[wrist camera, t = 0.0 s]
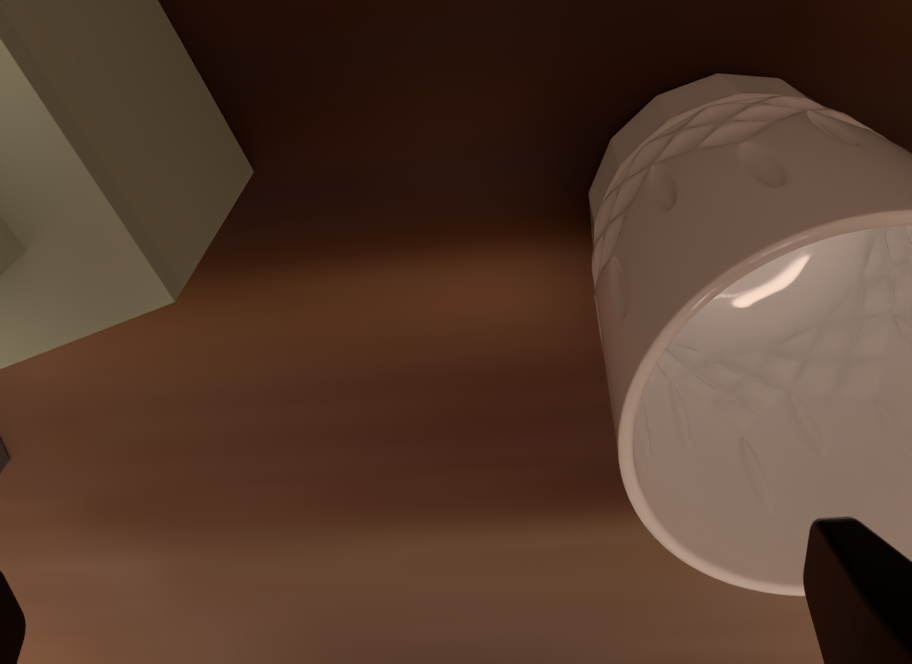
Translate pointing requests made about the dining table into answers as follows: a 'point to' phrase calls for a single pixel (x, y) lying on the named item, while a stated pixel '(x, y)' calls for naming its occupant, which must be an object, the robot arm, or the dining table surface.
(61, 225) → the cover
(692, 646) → the dining table surface
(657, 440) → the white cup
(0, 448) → the slate mat
